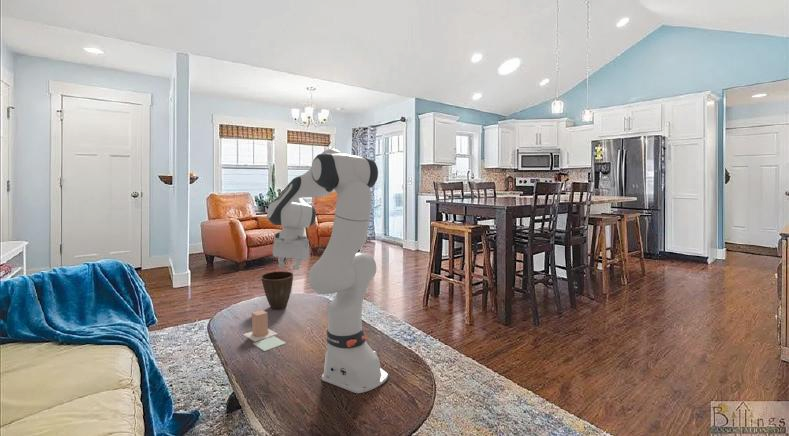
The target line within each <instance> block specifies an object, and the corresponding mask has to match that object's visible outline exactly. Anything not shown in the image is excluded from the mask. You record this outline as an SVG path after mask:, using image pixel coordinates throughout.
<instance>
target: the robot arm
mask: <svg viewBox="0 0 789 436" xmlns="http://www.w3.org/2000/svg"><path fill="white" fill-rule="evenodd" d="M376 163H377V162H375V161H374V159H371V158H369V157H365V156H358V155H352V154H348V153H342V151H340V150H338V149H335V148H328V149H326V150H324V151H322V152H321V153H319V154H317V155H316V156H315V157H314V159H313V161H312V163H311V167H310V169H308V170H307V171H306V172H305V173H303V174H302V175H299V176H296V177H294V178H293V179H292V180H291V181H289V182H288V184H287V185H286V186H285V188H284V189H283V190H282V191H281V193H280V194H279V195H277V197H276V198H274V200H272V201H271V202H270V203H269V205H268V208H267V212H266V217H267V220H268V221H269V222H270V223H271V224H272V225H274V226H282V230H280V231H278V232H276V233H274V236H273V237H274V239H275V240H274V242H273V245H272V255H273V257H276V258H277V257H278V258H277V260H278V263H279V264H278V266H279V267H278V268H279V269H285V266H286V264H285V262H284V261H285V258H288V259H295V263H294V265H293V266H292V270H294V271H299V269H300V265H301V263H302V261H303V260H308V258H309V257H310V243H309V239H308V237H307V236H305V233H304V232H305V228H310V227H312V226H313V225H314V224H315V222H316V215H317V211H316V209H315V208H314V206H313V205H311V204H309V203H307V200H306V198H324V197H326V196H327V197H328V196H329V195H330V194H332V193H333V192H334V191H335V193H336V197H337V199H336V205H335V210H334V218H333V224H332V230H331V236H330V238H329V241H328V243H327V246H326V248H325V249H324V251H323V253H322V254H321V256H320V258H318V260H317V261H316V262H315V263H314V264H313V265H312V266H310V269H309V271H308V277H307V278H308V284H309V287H310V288H311V289H312V290H313V292H315V294H318V295H333V294H335V295H334V298H333V299H332V300H331V302H330V303H329V305H328V307H327V330H326V342H327V346H326V351H325V354H324V364H323V365H324V366H323V367H324V368H323V373H322V374H321V381H323V382H325V383H329V384H331V385H333V386H336V387H339V388H341V389H344V390H347V391H349V392H352V393H354V394H362V393H366V392H369V391H372V390H373V389H374V390H375V389H376V388H378V387H379V386H381V385H382V384H384V383H385V382H386V381H387V380H388V378H389V374H388V373H387V371H385V370H384V369H383V368H382V367H381V361H380V358H379V357H378V354H377V351H375V350H373V349H372V347H370V345H369V344H368V343H367V341H366V339H368V334H365V330H364V329H363V327H362V317H363V316H362V314H363V312H362V311H363V303H364V298H365V295H366V293H367V289H368V288H369V285H370V283H371V281H372V280H373V278H375V276H376V274H377V263H376V261H375V259H374V257H373V256H372V255H371V254H369V253H367V252H359V251H360V249H361V248H362V247H363V246H364V245H365V244H366V242H367V238H368V233H369V232H368V231H369V226H370V221H371V213H372V190H371V188H373V187H374V186H375V184H376V183H377V181H378V177H379V170H378V169H379V168H378V165H377V164H376Z"/></svg>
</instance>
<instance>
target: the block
mask: <svg viewBox="0 0 789 436" xmlns="http://www.w3.org/2000/svg"><path fill="white" fill-rule="evenodd" d="M251 325H252V326H251V327H252V329H251V330H252V331H251V332H252V333H253V335H255V336H257V337H260V336H263V335H266V334H268V329H269V317H268V312H267V311H265V310H263V309H259V310H257V311H253V312H251Z"/></svg>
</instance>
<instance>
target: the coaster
mask: <svg viewBox="0 0 789 436" xmlns="http://www.w3.org/2000/svg"><path fill="white" fill-rule="evenodd" d="M286 344H287V342H286V341H284V340H281V339H280V338H278V337H277V336H275V335H273V336H270V337H267V338H264V339H261V340H258V341H255V342H253V343H252V345H253V346H255V347H256V348H258V349H259V350H261V351H262V352H267V351H270V350H273V349H275V348H278V347H281V346H284V345H286Z"/></svg>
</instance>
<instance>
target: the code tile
mask: <svg viewBox="0 0 789 436" xmlns="http://www.w3.org/2000/svg"><path fill="white" fill-rule="evenodd" d="M242 335H244V336H245V337H246V338H248V339H250V340H252V341H253V343H255V342H258V341H261V340H264V339H267V338H270V337H273V336H275V335H278V333H277V332H275V331H274V330H272V329H270V328H268V334H266V335H263V336H260V337H257V336H255V335H253V333H252V331H249V332H246V333H243V334H242Z"/></svg>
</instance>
